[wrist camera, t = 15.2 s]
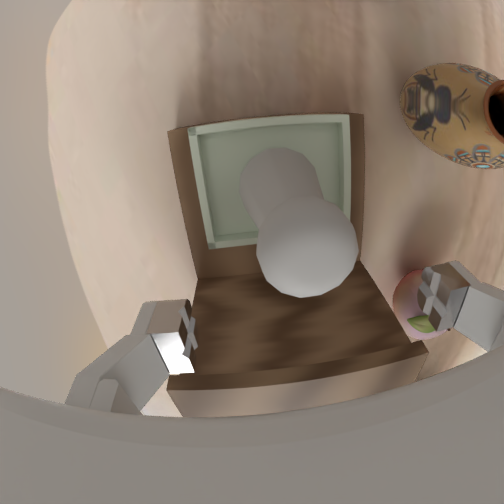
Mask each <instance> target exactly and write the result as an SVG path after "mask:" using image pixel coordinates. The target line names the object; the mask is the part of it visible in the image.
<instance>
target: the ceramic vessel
mask: <svg viewBox="0 0 504 504" xmlns="http://www.w3.org/2000/svg"><path fill="white" fill-rule="evenodd" d="M400 108H401V112H402V115H403V118H404V120H405V122H406V124H407V126H408V127H409V129H410V130H411V131H412V133H413V134H414V135H415V136H416V137H417V138H418V139H419V140H420V141H421V142H422V143H423V144H424V145H426V146H427V147H428V148H429V149H431V150H432V151H434V152H435V153H437V154H439V155H440V156H442V157H444V158H446V159H448V160H451V161H453V162H455V163H458V164H461V165H465V166H468V167H473V168H479V169H498V168H503V167H504V80H500V79H499V78H497V77H496V76H494V75H492V74H490V73H488V72H486V71H484V70H482V69H479V68H476V67H473V66H469V65H464V64H456V63H444V64H436V65H432V66H429V67H426V68H424V69H422V70H420V71H418V72H416V73H415V74H414V75H412V76H411V77H410V78H409V79H408V81H407V82H406V83H405V85H404V87H403V89H402V92H401V96H400Z"/></svg>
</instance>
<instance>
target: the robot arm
mask: <svg viewBox="0 0 504 504" xmlns="http://www.w3.org/2000/svg"><path fill="white" fill-rule="evenodd" d="M421 278H422V280H423V283H422V284H421V285H420V286H419V288H418V293H417V300H418V305H419V307H420V309H421V310H422V312H424V313H426V314H428V315H429V317H428V320H429V322H430V323H431V325H432V326H433V328H434V329H435V331H436V332H438V331H442V330H445V329H449V328H452V327H454V329H456V330H457V331H459V332H460V333H462V334H463V335H465V336H466V337H467V338H469V339H470V340H472V341H473V342H475V343H476V344H478V345H479V346H480V347H482V348H483V349H485V350H486V351H488V352H487V353H485V354H483V355H481V356H479V357H477V358H475V359H473V360H470V361H468V362H466V363H464V364H461V365H459V366H456V367H454V368H452V369H449V370H447V371H444V372H442V373H439V374H436V375H434V376H431V377H428V378H425V379H423V380H420V381H417V382H414V383H411V384H408V385H405V386H401V387H398V388H395V389H391V390H388V391H384V392H381V393H377V394H373V395H369V396H365V397H361V398H357V399H353V400H348V401H344V402H339V403H334V404H329V405H323V406H318V407H312V408H306V409H299V410H292V411H285V412H277V413H267V414H257V415H244V416H227V417H163V416H146V415H143V414H142V413H141V412H140V411H141V410H142V408H143V407H144V406H145V405H146V403H147V402H148V401H149V400H150V399H151V397H152V396H153V395H154V394H155V392H156V391H157V390H158V389H159V388H160V386H161V385H162V384H163V383H164V381H165V380H166V379H167V378H168V376H169V375H170V373H191V372H195V365H196V358H197V356H196V354H195V351H194V350H195V349H196V348H197V347H198V342H199V333H198V327H197V323H196V319H194V318H193V317H192V316H191V313H192V307H191V304H190V301H189V300H188V299H180V300H164V301H150V302H145V303H143V304H142V307H141V309H140V312H139V314H138V317H137V319H136V321H135V324H134V326H133V329H132V332H131V334H130V335H126V336H124V337H123V338H122V339H121V340H119V341H118V342H117V343H116V344H114V345H113V346H112V347H111V348H109V349H108V350H107V351H106V352H104V354H102V355H101V356H99V357H98V358H97V359H96V360H94V361H93V362H92V363H91V364H89V365H88V366H87V367H86V368H85V369H84V370H82V371H81V372H80V373H78V374H77V375H76V377H75V380H74V382H73V384H72V387H71V389H70V392H69V394H68V396H67V399H66V402H65V404H61V403H56V402H52V401H48V400H44V399H40V398H36V397H32V396H28V395H25V394H21V393H18V392H15V391H12V390H8V389H5V388H2V387H0V504H504V291H503V290H501V289H498V288H496V287H494V286H491V285H489V284H487V283H484V282H482V283H481V282H480V281H479V280H478V279H477V278H476V277H475V276H474V275H473V274H472V273H470V272H469V271H468V270H467V269H466V268H465V267H464V266H463V265H462V264H461V263H460V262H459V261H456V260H455V261H451V262H447V263H444V264H439V265H434V266H429V267H425V268H424V270H423V272H422V276H421Z"/></svg>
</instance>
